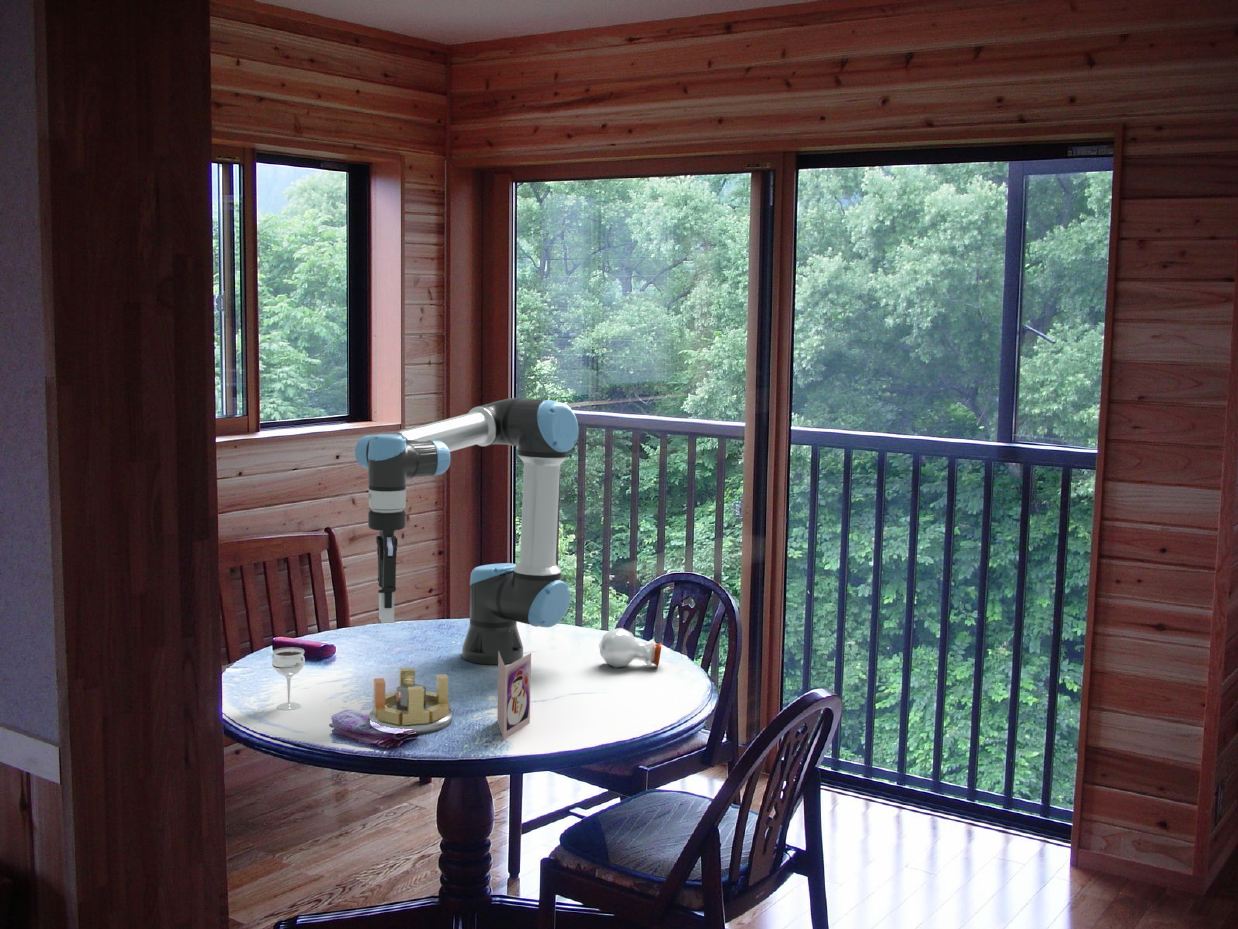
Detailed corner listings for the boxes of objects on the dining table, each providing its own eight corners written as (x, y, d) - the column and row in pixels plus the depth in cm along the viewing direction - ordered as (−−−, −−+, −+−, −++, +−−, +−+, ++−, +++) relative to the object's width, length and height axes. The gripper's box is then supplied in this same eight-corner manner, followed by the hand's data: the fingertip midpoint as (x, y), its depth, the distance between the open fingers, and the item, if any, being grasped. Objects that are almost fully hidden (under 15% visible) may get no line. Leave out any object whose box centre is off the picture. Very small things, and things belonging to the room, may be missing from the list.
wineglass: (287, 713, 251) (287, 658, 250) (265, 707, 255) (265, 652, 253) (311, 705, 257) (311, 651, 255) (289, 699, 260) (289, 645, 259)
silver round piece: (445, 705, 259) (445, 673, 258) (458, 731, 243) (458, 698, 242) (365, 710, 254) (365, 678, 253) (373, 738, 238) (373, 704, 237)
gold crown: (441, 698, 258) (441, 666, 257) (452, 721, 244) (453, 687, 243) (370, 703, 253) (370, 670, 252) (378, 726, 239) (378, 692, 238)
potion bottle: (595, 669, 294) (655, 678, 294) (597, 656, 285) (659, 665, 285) (600, 634, 298) (660, 643, 298) (602, 620, 290) (663, 629, 289)
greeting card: (507, 740, 239) (508, 667, 237) (475, 734, 242) (476, 662, 240) (533, 723, 249) (534, 653, 248) (502, 717, 252) (503, 648, 250)
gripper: (364, 503, 253) (364, 612, 255) (372, 516, 238) (372, 631, 241) (400, 503, 255) (399, 610, 258) (410, 515, 240) (409, 629, 243)
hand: (386, 620), depth 249 cm, fingers open, 3 cm apart
